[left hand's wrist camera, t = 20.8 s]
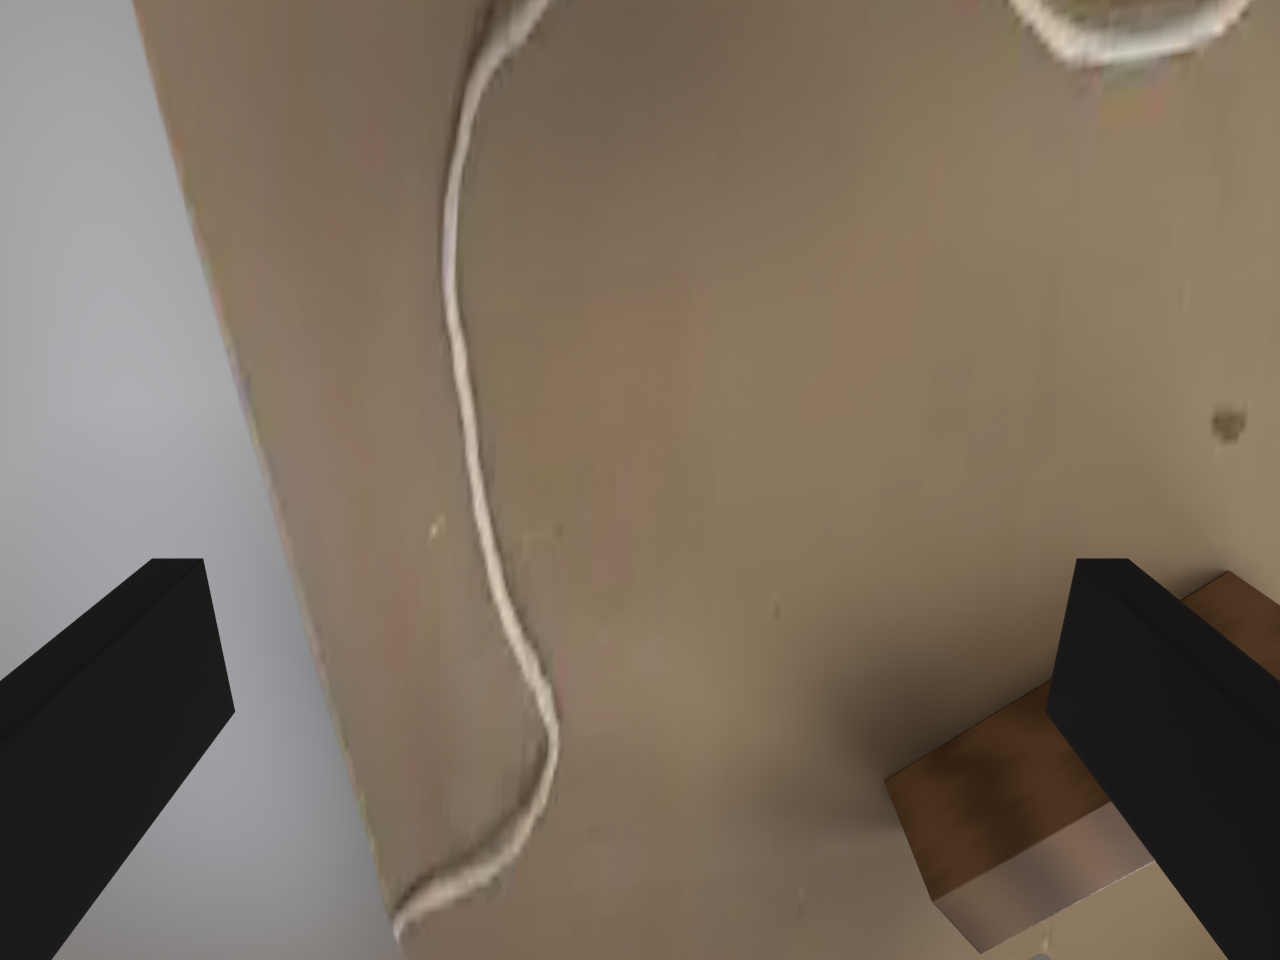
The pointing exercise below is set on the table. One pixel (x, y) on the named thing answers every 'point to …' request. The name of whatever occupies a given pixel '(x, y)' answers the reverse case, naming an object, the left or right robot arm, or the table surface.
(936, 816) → the brown wooden block
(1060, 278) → the table surface
